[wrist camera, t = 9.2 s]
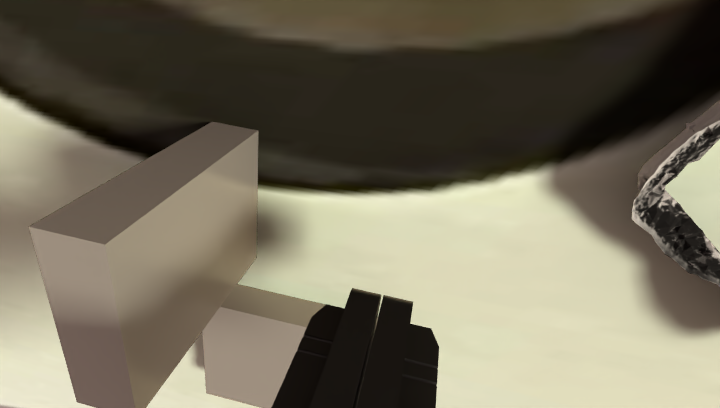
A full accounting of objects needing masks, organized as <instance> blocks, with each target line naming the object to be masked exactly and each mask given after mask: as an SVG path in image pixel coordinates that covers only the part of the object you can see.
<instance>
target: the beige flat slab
mask: <svg viewBox="0 0 720 408" xmlns="http://www.w3.org/2000/svg"><path fill="white" fill-rule="evenodd" d="M257 195H258V130H252V129H247V128H242V127H237V126H231V125H226V124H221V123H216V122H211V123H209V124H207V125H206V126H204V127H202V128H200V129H199V130H197V131H195V132H193V133H192V134H190V135H188V136H186V137H185V138H183V139H181V140H179V141H178V142H176V143H174V144H172V145H171V146H169V147H167V148H165V149H164V150H162V151H160V152H158V153H157V154H155V155H153V156H151V157H150V158H148V159H146V160H144V161H143V162H141V163H139V164H137V165H136V166H134V167H132V168H130V169H129V170H127V171H125V172H123V173H122V174H120V175H118V176H116V177H115V178H113V179H111V180H109V181H108V182H106V183H104V184H102V185H101V186H99V187H97V188H95V189H94V190H92V191H90V192H88V193H87V194H85V195H83V196H81V197H80V198H78V199H76V200H74V201H73V202H71V203H69V204H67V205H66V206H64V207H62V208H60V209H59V210H57V211H55V212H53V213H52V214H50V215H48V216H46V217H45V218H43V219H41V220H39V221H38V222H36V223H34V224H32V225H31V226H29V230H30V234H31V237H32V241H33V245H34V248H35V252H36V256H37V259H38V263H39V266H40V270H41V274H42V277H43V281H44V284H45V288H46V292H47V295H48V299H49V303H50V306H51V310H52V313H53V317H54V321H55V324H56V328H57V332H58V335H59V339H60V342H61V346H62V350H63V353H64V357H65V360H66V364H67V368H68V371H69V375H70V379H71V382H72V386H73V389H74V393H75V397H76V400H77V402H78V403H82V404H85V405H89V406H92V407H96V408H146V407H147V405H148V404H149V403H150V401H151V400H152V399H153V397H154V396H155V395H156V393H157V392H158V390H159V389H160V388H161V386H162V385H163V384H164V382H165V381H166V380H167V378H168V377H169V376H170V374H171V373H172V371H173V370H174V369H175V367H176V366H177V365H178V363H179V362H180V361H181V359H182V358H183V357H184V355H185V354H186V352H187V351H188V350H189V348H190V347H191V346H192V344H193V343H194V342H195V340H196V339H197V338H198V336H199V335H200V333H201V332H202V331H203V329H204V328H205V327H206V325H207V324H208V323H209V321H210V320H211V319H212V317H213V316H214V314H215V313H216V312H217V310H218V309H219V308H220V306H221V305H222V304H223V302H224V301H225V300H226V298H227V297H228V296H229V294H230V293H231V291H232V290H233V289H234V287H235V286H236V285H237V283H238V282H239V281H240V279H241V278H242V277H243V275H244V274H245V272H246V271H247V270H248V268H249V267H250V266H251V264H252V263H253V262H254V260H255V259H256V258H257Z"/></svg>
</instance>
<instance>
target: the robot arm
mask: <svg viewBox="0 0 720 408" xmlns="http://www.w3.org/2000/svg"><path fill="white" fill-rule="evenodd" d="M380 300H381V295H380V294H376V293H371V292H367V291H363V290H358V289H354V288H352V290H351V292H350V295H349V298H348V301H347V303H346V306H345V309H344V308H340V307H335V306H331V305H327V304H326V305H325V306H324V307H323V308H321V309H320V310H319V311H318V312H317V313H315V314H314V315H313V316H312V317H311V319H310V321H309V324H308V326H307V328H306V330H305V333H304V336H303V337H302V339H301V342H300V344H299V346H298V349H297V352H296V353H295V355H294V358H293V360H292V362H291V364H290V367H289V369H288V371H287V373H286V376H285V378H284V380H283V383H282V385H281V387H280V389H279V392H278V394H277V396H276V398H275V401H274V403H273V405H272V407H271V408H436V390H437V386H436V385H437V373H438V370H437V368H438V356H439V346H438V344H437V341H436V339H435V337H434V334H433V332H432V330H431V329H430V328H426V327H422V326H418V325H413V324H410V320H411V313H412V307H413V302H412V301H407V300H403V299H398V298H394V297H390V296H385V295H384V296H383V300H382V304H381V308H380V312H379V316H378V311H379V306H380ZM377 317H378V321H377ZM376 322H377V325H376ZM375 328H376V329H375Z"/></svg>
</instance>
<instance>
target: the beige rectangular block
mask: <svg viewBox="0 0 720 408" xmlns="http://www.w3.org/2000/svg"><path fill="white" fill-rule="evenodd" d="M324 306H325V304H321V303H316V302H312V301H308V300H303V299H299V298H295V297H290V296H286V295H282V294H277V293H273V292H269V291H265V290H260V289H256V288H252V287H247V286H243V285H239V284H237V285H236V286H235V287H234V289H233V290H232V291H231V293H230V294H229V296H228V297H227V298H226V300H225V301H224V302H223V304H222V305H221V306H220V308H219V309H218V310H217V312H216V313H215V314H214V316H213V317H212V319H211V320H210V321H209V323H208V324H207V325H206V327H205V328H204V329H203V331H202V337H203V351H204V366H205V380H206V393H208V394H212V395H215V396H219V397H223V398H227V399H231V400H234V401H238V402H242V403H246V404H249V405H253V406H257V407H261V408H271V407H272V405H273V403H274V401H275V398H276V396H277V394H278V392H279V389H280V387H281V385H282V383H283V380H284V378H285V376H286V373H287V371H288V369H289V367H290V364H291V362H292V360H293V358H294V355H295V353H296V352H297V349H298V346H299V344H300V342H301V339H302V337H303V336H304V333H305V330H306V328H307V326H308V324H309V321H310V319H311V317H312V316H313V315H314V314H315V313H317V312H318V311H319V310H320V309H321V308H323V307H324ZM377 321H378V317H377ZM376 325H377V322H376ZM375 329H376V328H375Z"/></svg>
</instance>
